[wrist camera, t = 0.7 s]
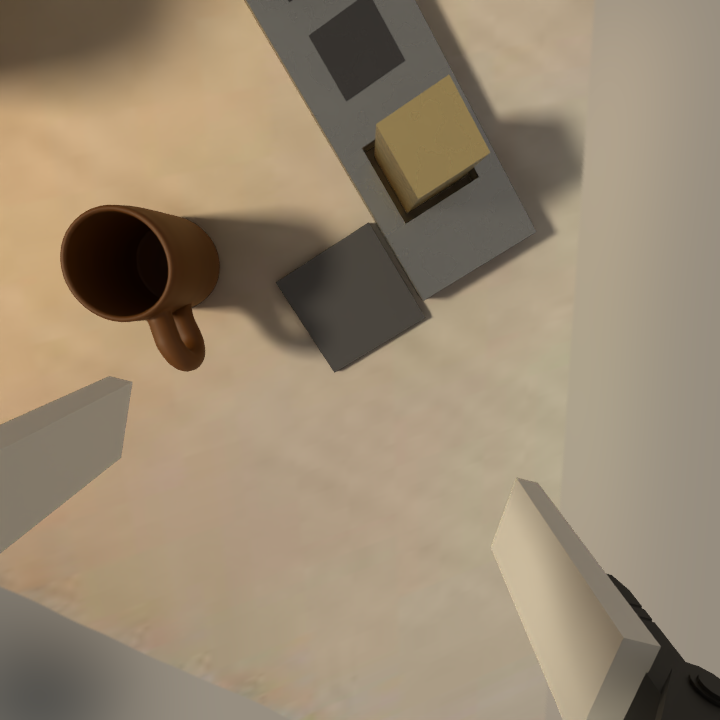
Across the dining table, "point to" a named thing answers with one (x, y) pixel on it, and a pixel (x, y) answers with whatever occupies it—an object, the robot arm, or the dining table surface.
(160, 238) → the mug
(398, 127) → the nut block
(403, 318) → the rubber mat
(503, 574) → the robot arm
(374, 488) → the dining table surface
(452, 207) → the grey board with slots
